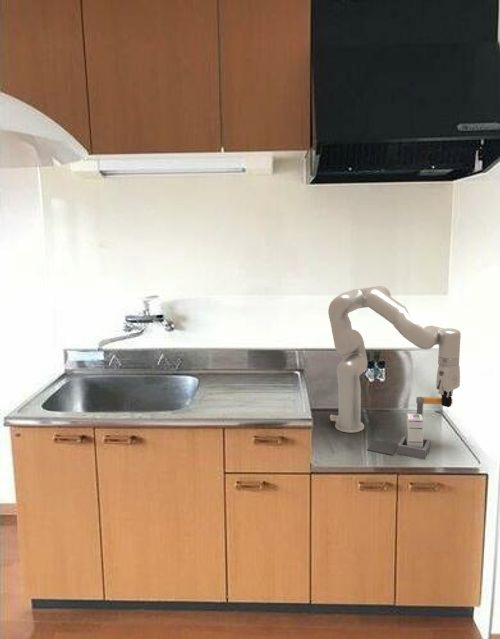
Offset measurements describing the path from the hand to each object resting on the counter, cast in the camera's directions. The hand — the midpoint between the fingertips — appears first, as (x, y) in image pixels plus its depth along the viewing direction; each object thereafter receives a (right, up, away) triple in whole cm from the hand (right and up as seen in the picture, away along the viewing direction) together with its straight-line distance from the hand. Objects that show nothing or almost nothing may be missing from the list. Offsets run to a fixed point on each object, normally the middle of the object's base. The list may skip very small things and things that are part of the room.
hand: (446, 405), depth 194 cm
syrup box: (-13, -18, 0) cm, 22 cm away
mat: (-24, -17, +3) cm, 30 cm away
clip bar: (-3, +1, +4) cm, 5 cm away
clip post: (-8, -16, +8) cm, 19 cm away
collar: (-13, -18, 0) cm, 22 cm away
